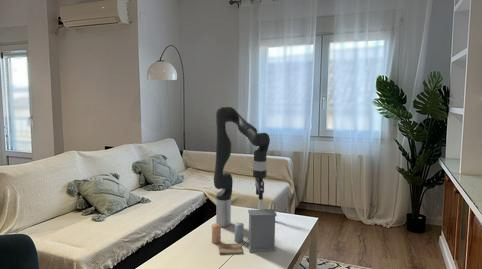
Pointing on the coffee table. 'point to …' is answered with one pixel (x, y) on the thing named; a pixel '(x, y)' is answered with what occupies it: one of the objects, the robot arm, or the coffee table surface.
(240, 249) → the pad
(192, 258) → the coffee table surface
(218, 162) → the robot arm
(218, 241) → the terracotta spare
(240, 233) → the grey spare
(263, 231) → the post
